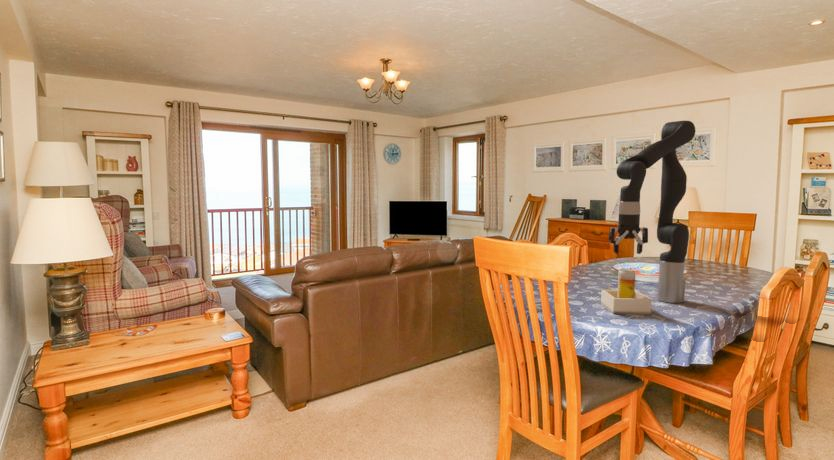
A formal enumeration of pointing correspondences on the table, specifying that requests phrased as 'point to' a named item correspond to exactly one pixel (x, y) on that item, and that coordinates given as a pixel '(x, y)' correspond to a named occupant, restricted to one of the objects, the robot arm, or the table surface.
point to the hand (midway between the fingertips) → (627, 253)
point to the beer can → (626, 283)
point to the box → (626, 303)
